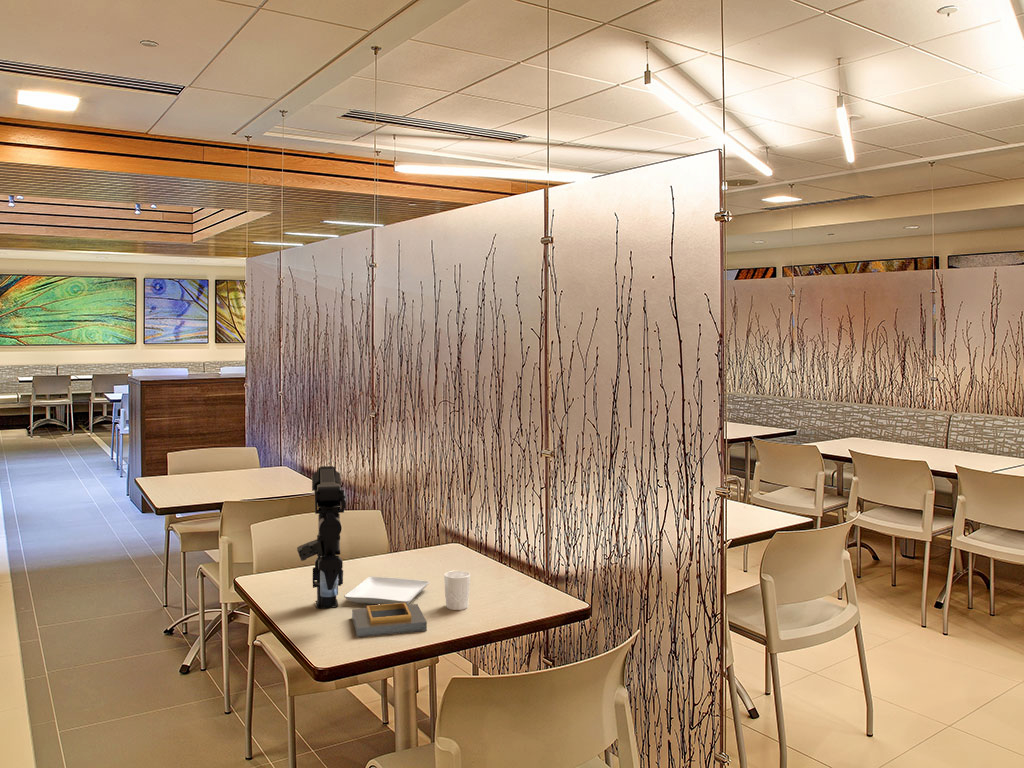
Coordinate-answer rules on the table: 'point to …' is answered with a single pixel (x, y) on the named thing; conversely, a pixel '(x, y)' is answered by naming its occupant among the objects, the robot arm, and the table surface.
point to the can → (323, 587)
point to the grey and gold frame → (388, 619)
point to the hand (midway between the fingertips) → (329, 587)
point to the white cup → (457, 589)
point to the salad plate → (386, 590)
